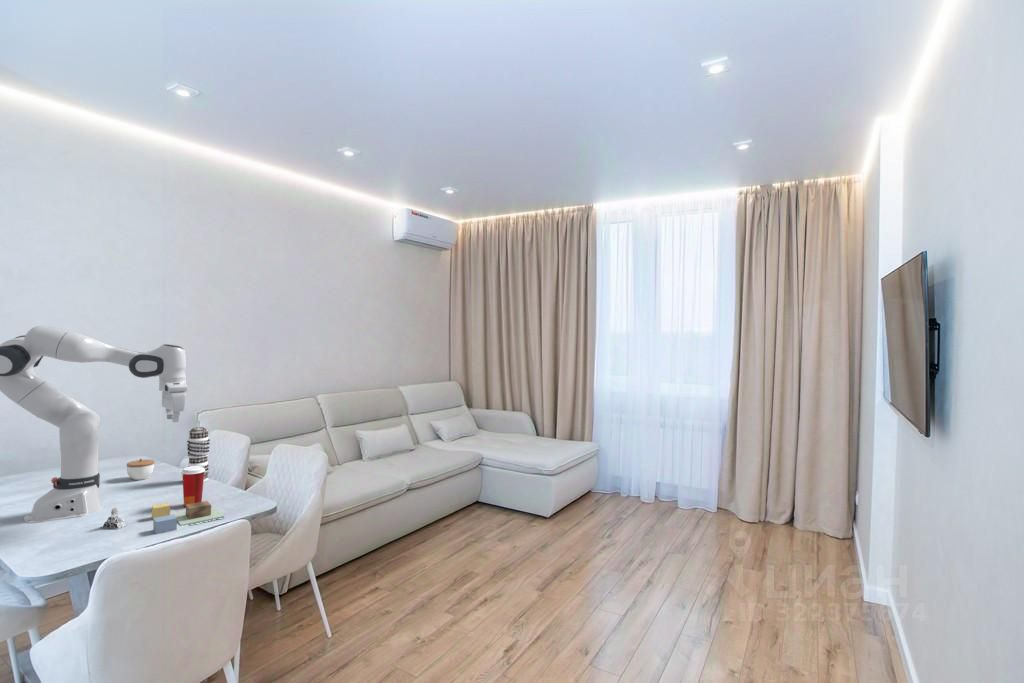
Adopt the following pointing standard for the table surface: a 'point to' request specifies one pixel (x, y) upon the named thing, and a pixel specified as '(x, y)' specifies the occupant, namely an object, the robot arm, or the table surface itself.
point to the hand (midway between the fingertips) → (172, 420)
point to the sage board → (184, 520)
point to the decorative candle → (198, 449)
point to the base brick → (198, 510)
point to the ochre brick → (160, 510)
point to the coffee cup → (193, 484)
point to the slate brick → (164, 524)
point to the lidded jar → (140, 469)
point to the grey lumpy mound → (114, 520)
